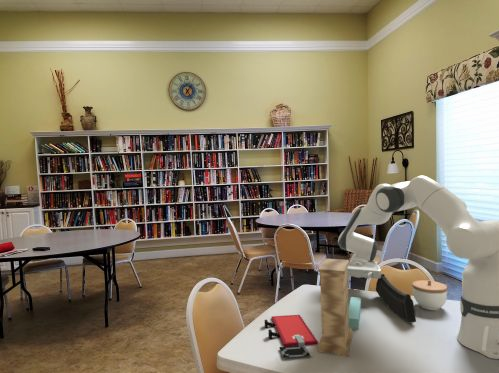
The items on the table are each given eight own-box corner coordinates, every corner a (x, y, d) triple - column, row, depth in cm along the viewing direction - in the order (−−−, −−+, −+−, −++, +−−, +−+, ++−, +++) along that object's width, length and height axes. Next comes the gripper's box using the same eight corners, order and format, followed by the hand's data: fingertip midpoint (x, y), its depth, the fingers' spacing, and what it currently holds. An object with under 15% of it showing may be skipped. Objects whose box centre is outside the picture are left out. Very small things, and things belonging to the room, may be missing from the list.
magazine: (419, 303, 117) (385, 259, 146) (410, 303, 117) (378, 259, 146) (413, 342, 123) (382, 292, 151) (404, 342, 123) (375, 292, 151)
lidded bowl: (406, 306, 138) (406, 279, 137) (421, 299, 145) (421, 273, 145) (438, 315, 127) (438, 287, 127) (453, 307, 135) (452, 280, 135)
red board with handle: (277, 361, 100) (325, 357, 101) (277, 351, 100) (325, 348, 101) (262, 320, 129) (299, 318, 131) (261, 313, 129) (299, 311, 131)
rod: (361, 307, 139) (360, 297, 139) (358, 330, 118) (358, 319, 118) (351, 306, 140) (351, 296, 140) (347, 328, 120) (346, 317, 120)
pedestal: (352, 334, 115) (350, 259, 114) (348, 356, 101) (346, 271, 100) (326, 330, 118) (324, 258, 117) (318, 351, 104) (316, 269, 104)
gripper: (335, 259, 159) (331, 266, 147) (381, 262, 152) (380, 270, 139) (335, 272, 160) (331, 281, 147) (381, 276, 152) (381, 285, 139)
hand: (355, 276), depth 143 cm, fingers open, 8 cm apart
